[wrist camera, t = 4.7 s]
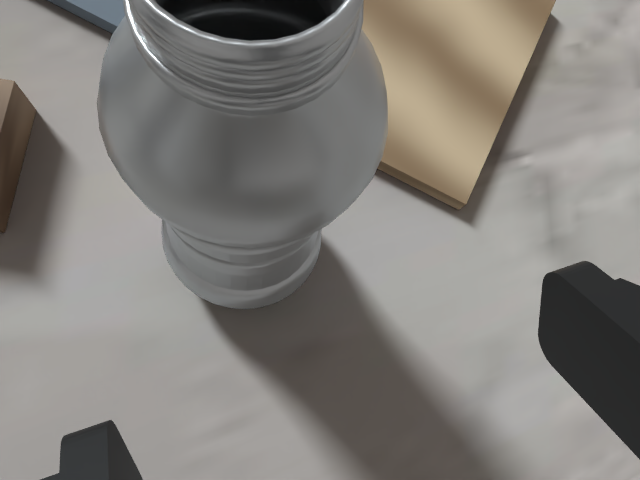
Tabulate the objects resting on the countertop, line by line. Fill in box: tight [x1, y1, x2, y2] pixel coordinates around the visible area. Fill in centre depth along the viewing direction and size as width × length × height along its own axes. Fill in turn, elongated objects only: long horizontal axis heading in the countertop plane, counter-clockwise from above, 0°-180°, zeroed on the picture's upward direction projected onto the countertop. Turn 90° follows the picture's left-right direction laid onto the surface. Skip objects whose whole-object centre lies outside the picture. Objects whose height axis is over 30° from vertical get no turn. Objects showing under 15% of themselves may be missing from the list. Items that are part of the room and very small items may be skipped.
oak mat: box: [361, 0, 556, 210], centre depth 31 cm, size 13×13×1 cm
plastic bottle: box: [97, 0, 388, 309], centre depth 18 cm, size 6×7×20 cm
